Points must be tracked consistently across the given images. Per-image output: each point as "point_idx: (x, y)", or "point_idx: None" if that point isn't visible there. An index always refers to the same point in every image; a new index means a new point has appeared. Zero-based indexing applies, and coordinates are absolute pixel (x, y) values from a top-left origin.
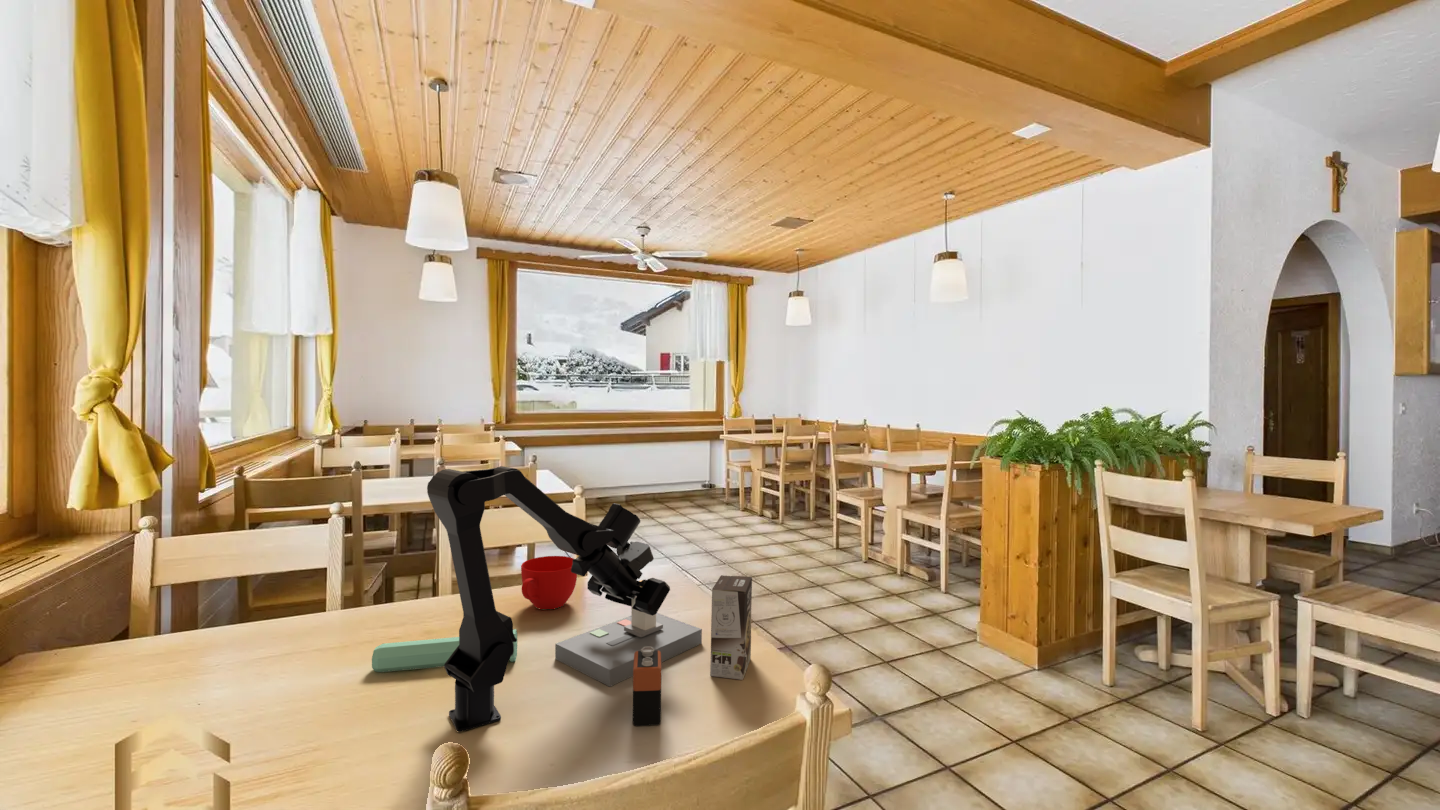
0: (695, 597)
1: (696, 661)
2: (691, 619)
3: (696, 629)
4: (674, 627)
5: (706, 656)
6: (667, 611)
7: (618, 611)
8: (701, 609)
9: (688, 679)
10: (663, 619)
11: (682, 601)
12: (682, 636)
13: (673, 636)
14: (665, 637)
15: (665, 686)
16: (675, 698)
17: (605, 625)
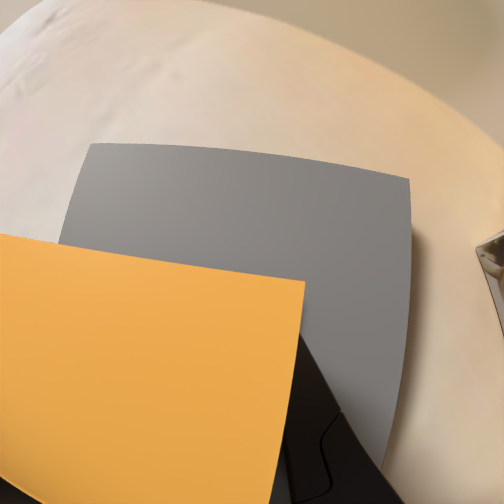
0: (160, 3)
1: (451, 328)
2: (229, 75)
3: (398, 194)
4: (310, 226)
5: (453, 277)
6: (129, 77)
7: (9, 166)
8: (214, 27)
9: (479, 427)
10: (205, 181)
11: (140, 26)
12: (402, 289)
13: (373, 316)
14: (350, 348)
15: (446, 492)
16: (481, 499)
17: None
